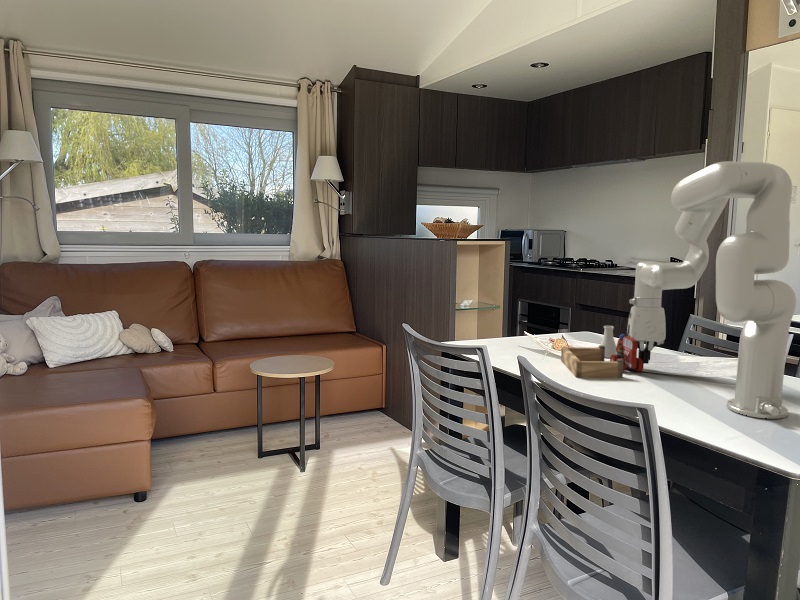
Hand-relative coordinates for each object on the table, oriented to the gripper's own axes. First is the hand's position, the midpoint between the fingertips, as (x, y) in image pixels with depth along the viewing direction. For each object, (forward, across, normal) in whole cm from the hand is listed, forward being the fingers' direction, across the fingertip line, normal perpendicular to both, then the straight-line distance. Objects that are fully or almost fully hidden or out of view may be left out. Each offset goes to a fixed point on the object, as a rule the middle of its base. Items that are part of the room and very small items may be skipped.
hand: (643, 362), depth 177 cm
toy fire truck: (+2, -5, 0) cm, 6 cm away
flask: (+2, -6, +17) cm, 18 cm away
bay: (+2, -16, 0) cm, 16 cm away
